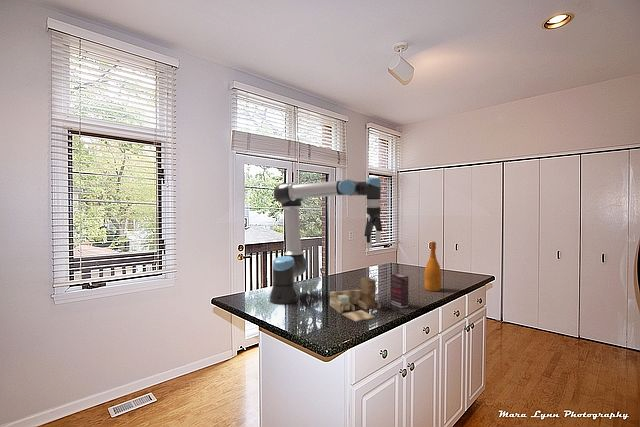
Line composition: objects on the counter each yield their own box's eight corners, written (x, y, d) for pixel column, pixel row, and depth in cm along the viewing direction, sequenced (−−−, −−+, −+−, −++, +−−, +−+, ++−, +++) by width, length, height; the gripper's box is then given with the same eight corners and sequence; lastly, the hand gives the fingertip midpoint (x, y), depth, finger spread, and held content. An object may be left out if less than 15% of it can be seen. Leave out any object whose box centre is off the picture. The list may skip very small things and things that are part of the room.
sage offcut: (341, 303, 169) (341, 297, 169) (337, 301, 174) (337, 295, 174) (348, 303, 170) (349, 297, 170) (345, 300, 175) (345, 294, 175)
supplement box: (408, 307, 175) (409, 276, 175) (401, 308, 173) (401, 277, 172) (397, 302, 183) (397, 273, 182) (390, 304, 180) (390, 274, 180)
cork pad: (355, 321, 152) (355, 320, 152) (342, 314, 162) (342, 313, 162) (375, 317, 158) (375, 316, 158) (361, 311, 167) (361, 310, 167)
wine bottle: (442, 289, 213) (443, 241, 212) (438, 292, 204) (439, 242, 204) (426, 287, 218) (427, 240, 217) (422, 290, 210) (422, 241, 209)
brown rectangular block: (367, 308, 172) (367, 281, 172) (360, 304, 180) (360, 277, 179) (375, 307, 174) (375, 280, 173) (368, 303, 181) (368, 277, 181)
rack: (339, 313, 164) (340, 299, 164) (329, 305, 178) (329, 291, 177) (384, 308, 172) (384, 295, 171) (371, 301, 185) (371, 288, 185)
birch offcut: (341, 311, 168) (341, 304, 168) (336, 307, 175) (336, 300, 175) (349, 310, 170) (349, 303, 170) (344, 306, 176) (344, 299, 176)
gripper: (371, 210, 169) (371, 251, 172) (387, 204, 191) (387, 241, 194) (357, 209, 173) (358, 250, 176) (375, 203, 194) (375, 239, 198)
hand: (373, 245), depth 185 cm, fingers open, 13 cm apart
